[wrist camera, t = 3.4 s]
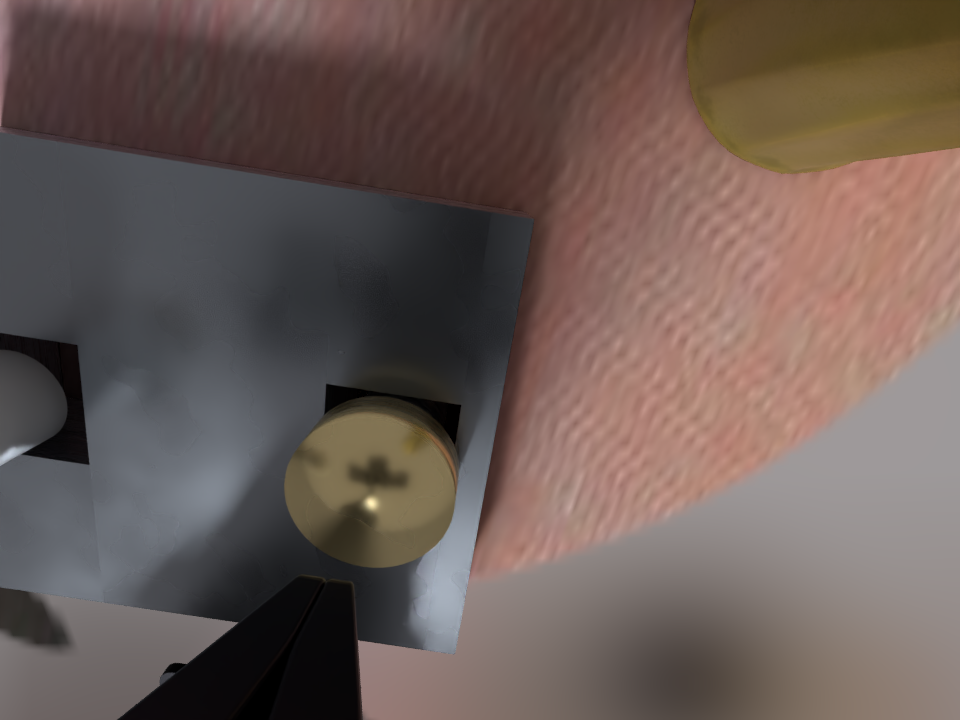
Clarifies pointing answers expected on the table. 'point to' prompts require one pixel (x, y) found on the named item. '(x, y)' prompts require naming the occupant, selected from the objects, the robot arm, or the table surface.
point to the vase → (826, 79)
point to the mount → (236, 371)
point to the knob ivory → (27, 404)
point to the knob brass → (375, 480)
